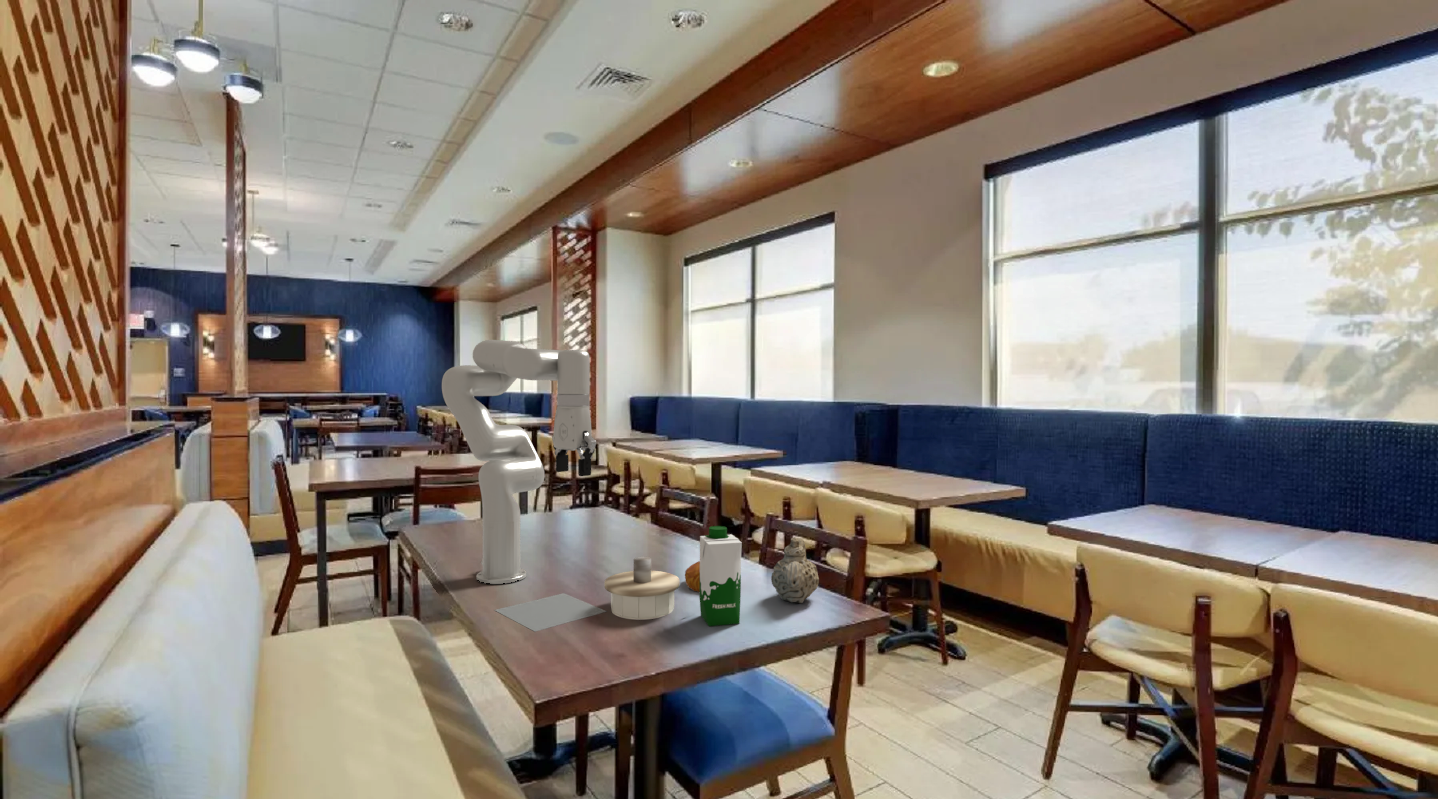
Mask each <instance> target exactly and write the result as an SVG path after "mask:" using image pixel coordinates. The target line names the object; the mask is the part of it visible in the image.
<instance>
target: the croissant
mask: <svg viewBox="0 0 1438 799" xmlns="http://www.w3.org/2000/svg"><path fill="white" fill-rule="evenodd" d="M684 578H685V584H686V586H687V587H688V589H691V590H692V591H693V592H698V593H699V587H700V560H699V561H696V562H695V563H693V564H691V565H690V566H689V567H687V568H686V570H685V571H684Z"/></svg>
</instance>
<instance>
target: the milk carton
mask: <svg viewBox="0 0 1438 799" xmlns="http://www.w3.org/2000/svg"><path fill="white" fill-rule="evenodd" d="M742 543H743V542H742V541H740V539H739V538H738V537H736V536H735V535H733V534H732V533H731V534H728V528H727V527H726V526H723V525H711V526H709V528H708V534H707V535H700V536H699V561H700V587H699V592H698V593H699V594H698V595H699V607H700V617H701V618H702V619H703V621H704V622H705V623H706V625H707V626H708V627H717V626H726V625H739V624H740V620H741V619H740V618H741V595H742V594H741V590H742V587H741V585H742V584H741V583H742V582H741V581H742V579H741V578H742V546H743V544H742Z"/></svg>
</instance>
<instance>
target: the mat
mask: <svg viewBox="0 0 1438 799" xmlns="http://www.w3.org/2000/svg"><path fill="white" fill-rule="evenodd" d="M494 612H497V613H498V614H500V615H502V616H504V617H506V618H508V619H510V620H512V621H514V622H516V623H517V624H519V625H521V626H523V627H525V628H527V629H529V630H530V631H533V632H534V633H536V632H539V631H543V630H547V629H549V628H554V627H558V626H561V625H564V624H568V623H571V622H575V621H578V620H582V619H586V618H590V617H592V616H596V615H600V614H603V613H607V612H608V611H607V610H605V609H602V608H600V607H598V606H596V605H592V604H591V603H589V602H586V601H583V600H582V599H578V598H576V597H574V596H572V595H569V594H567V593H564V592H562V593H560V594H554V595H551V596H550V595H549V596H545V597H543V598H538V599H535V600H530V601H526V602H520V603H518V604H513V605H509V606H506V607H502V608H497V609H494Z"/></svg>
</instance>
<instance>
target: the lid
mask: <svg viewBox="0 0 1438 799" xmlns="http://www.w3.org/2000/svg"><path fill="white" fill-rule="evenodd" d="M678 588H680V578H679V577H678V576H677V575H675V574H672V573H669V572H665V571H660V570H659V571H658V570H652V558H651V557H650V556H638V557H634V558H633V570H631V571H623V572H619V573H615V574H612V575H610V576H608V577H607V578H606V579H605V580H604V589H605V591H607V592H608V593H610V594H611V593H613V594H616V595H621V596H629V597H649V596H658V595H663V594H667V593H670V592H673V591H674V592H675V591H677V589H678Z"/></svg>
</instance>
